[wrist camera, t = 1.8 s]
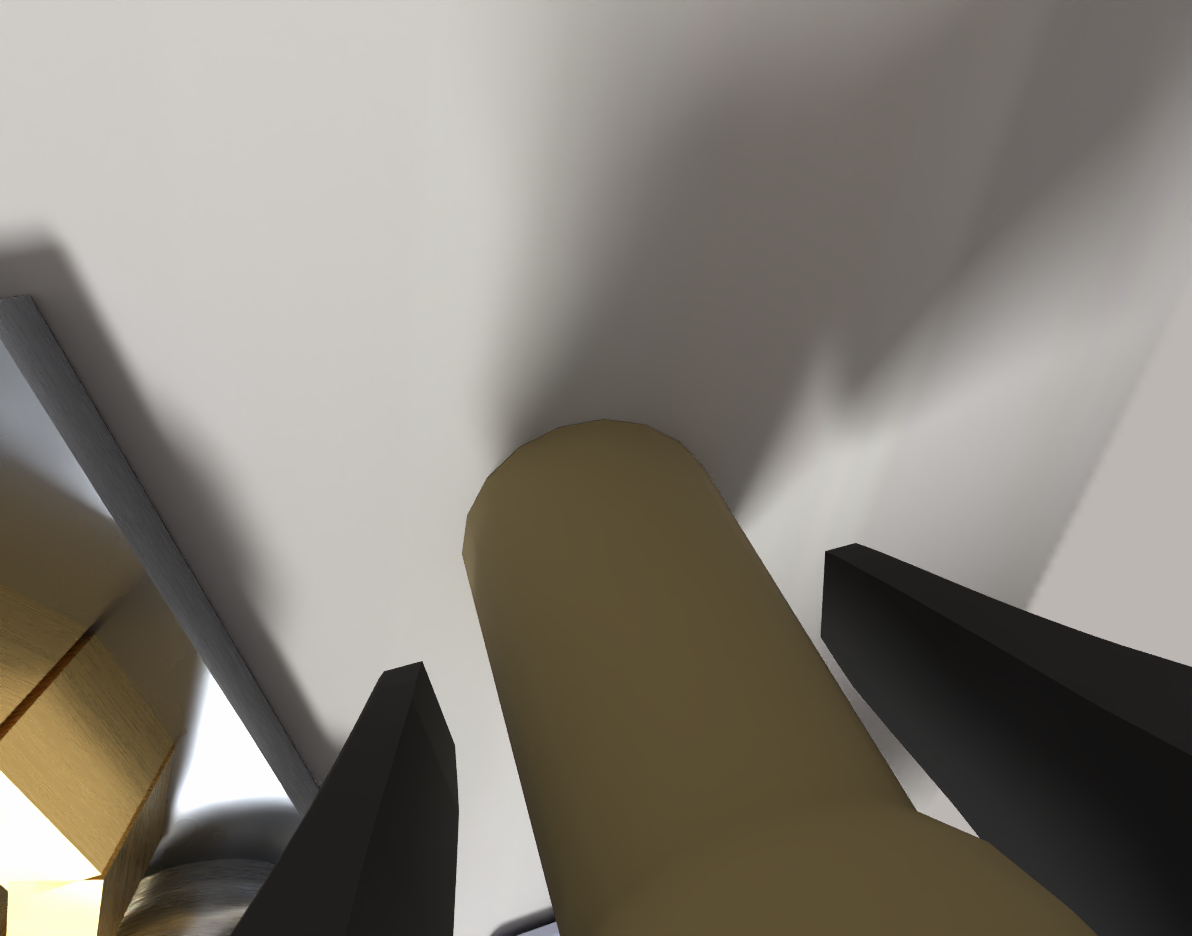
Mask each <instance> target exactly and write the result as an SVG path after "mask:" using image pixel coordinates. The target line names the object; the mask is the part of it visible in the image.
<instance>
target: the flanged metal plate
mask: <svg viewBox="0 0 1192 936" xmlns="http://www.w3.org/2000/svg"><path fill="white" fill-rule="evenodd" d="M318 791H319V789H318V787H317V786H316V784H315V782H314V780H313V779H312V777H311V775H310V774H309V772H308V770H307V769H306V767H305V765H304V763H303V762H302V760H301V758H300V757H299V755H298V753H297V751H296V750H295V748H294V746H293V745H292V743H291V741H290V739H289V738H288V736H287V734H286V733H285V731H284V729H283V727H282V726H281V724H280V722H279V721H278V719H277V717H276V716H275V714H274V712H273V710H272V709H271V707H270V705H269V704H268V702H267V700H266V698H265V697H264V695H263V693H262V692H261V690H260V688H259V686H258V685H257V683H256V681H255V680H254V678H253V676H252V675H251V673H250V671H249V669H248V668H247V666H246V664H245V663H244V661H243V659H242V657H241V656H240V654H239V652H238V651H237V649H236V647H235V645H234V644H233V642H232V640H231V639H230V637H229V635H228V633H227V632H226V630H225V628H224V627H223V625H222V623H221V622H220V620H219V618H218V616H217V615H216V613H215V611H214V610H213V608H212V606H211V604H210V603H209V601H208V599H207V598H206V596H205V594H204V592H203V591H202V589H201V587H200V586H199V584H198V582H197V581H196V579H195V577H194V575H193V574H192V572H191V570H190V569H189V567H188V565H187V563H186V562H185V560H184V558H183V557H182V555H181V553H180V551H179V550H178V548H177V546H176V545H175V543H174V541H173V539H172V538H171V536H170V534H169V533H168V531H167V529H166V528H165V526H164V524H163V522H162V521H161V519H160V517H159V516H158V514H157V512H156V510H155V509H154V507H153V505H152V504H151V502H150V500H149V498H148V497H147V495H146V493H145V492H144V490H143V488H142V487H141V485H140V483H139V481H138V480H137V478H136V476H135V475H134V473H133V471H132V469H131V468H130V466H129V464H128V463H127V461H126V459H125V457H124V456H123V454H122V452H121V451H120V449H119V447H118V445H117V444H116V442H115V440H114V439H113V437H112V435H111V434H110V432H109V430H108V428H107V427H106V425H105V423H104V422H103V420H102V418H101V416H100V415H99V413H98V411H97V410H96V408H95V406H94V404H93V403H92V401H91V399H90V398H89V396H88V394H87V393H86V391H85V389H84V387H83V386H82V384H81V382H80V381H79V379H78V377H77V375H76V374H75V372H74V370H73V369H72V367H71V365H70V363H69V362H68V360H67V358H66V357H65V355H64V353H63V351H62V350H61V348H60V346H59V345H58V343H57V341H56V340H55V338H54V336H53V334H52V333H51V331H50V329H49V328H48V326H47V324H46V322H45V321H44V319H43V317H42V316H41V314H40V312H39V310H38V309H37V307H36V305H35V304H34V302H33V300H32V299H31V297H30V295H29V294H28V295H21V296H15V297H9V298H3V299H0V936H229V935H230V934H231V932H232V931H233V929H234V928H235V926H236V925H237V923H238V922H239V920H240V918H241V917H242V915H243V914H244V912H245V911H246V909H247V908H248V906H249V905H250V903H251V902H252V900H253V899H254V897H255V896H256V894H257V892H258V891H259V889H260V888H261V886H262V885H263V883H264V881H265V880H266V878H267V876H268V875H269V873H270V872H271V870H272V868H273V867H274V865H275V863H276V862H277V860H278V859H279V857H280V855H281V854H282V852H283V850H284V849H285V847H286V846H287V844H288V842H289V841H290V839H291V837H292V836H293V834H294V833H295V831H296V829H297V828H298V826H299V824H300V823H301V821H302V819H303V818H304V816H305V814H306V813H307V811H308V809H309V807H310V806H311V804H312V802H313V800H314V799H315V797H316V795H317V793H318Z"/></svg>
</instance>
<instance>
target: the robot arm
mask: <svg viewBox="0 0 1192 936" xmlns="http://www.w3.org/2000/svg"><path fill="white" fill-rule="evenodd" d="M821 638H822V640H823V641H824V643H825V644H826V646H827V648H828V649H829V651H830V652H831V654H832V655H833V657H834V659H835V660H836V662H837V663H838V665H839V666H840V668H841V669H842V671H843V672H844V674H845V675H846V676H847V678H848V679H849V681H850V682H851V684H852V685H853V687H854V688H855V689H856V690H857V692H858V693H859V694H860V695H861V696H862V698H863V699H864V700H865V701H866V702H867V704H868V705H869V706H870V707H871V708H872V710H873V711H874V712H875V713H876V714H877V716H878V717H879V718H880V719H881V720H882V721H883V723H884V724H885V725H886V726H887V727H888V729H889V730H890V731H891V732H892V733H893V734H894V736H895V737H896V738H897V739H898V740H899V741H900V743H901V744H902V745H903V746H904V747H905V748H906V750H907V751H908V752H909V753H910V754H911V755H912V757H913V758H914V759H915V760H916V761H917V763H918V764H919V765H920V766H921V767H922V768H923V770H924V771H925V772H926V773H927V774H928V775H929V777H930V778H931V779H932V780H933V781H934V782H935V784H936V785H937V786H938V787H939V788H940V789H941V791H942V792H943V793H944V794H945V795H946V796H947V797H948V799H949V800H950V801H951V802H952V803H953V805H954V806H955V807H956V808H957V810H958V811H959V812H960V813H961V815H962V816H963V817H964V818H965V820H966V821H967V822H968V823H969V825H970V826H971V827H972V829H973V830H974V831H975V832H976V834H977V835H978V836H979V838H980V839H982V840H985V841H987V842H989V843H990V844H991V845H992V846H994V847H995V848H996V849H997V850H999V851H1000V852H1001V853H1002V854H1003V855H1005V856H1006V857H1007V858H1008V859H1010V860H1011V861H1012V862H1013V863H1015V864H1016V865H1017V866H1018V867H1019V868H1021V869H1022V870H1023V871H1024V872H1026V873H1027V874H1028V875H1029V876H1031V877H1032V878H1033V879H1034V880H1036V881H1037V882H1038V883H1039V884H1040V885H1042V886H1043V887H1044V888H1045V889H1047V890H1048V891H1049V892H1050V893H1052V894H1053V895H1054V896H1055V897H1056V898H1058V899H1059V900H1060V901H1061V902H1063V903H1064V904H1065V905H1066V906H1068V907H1069V908H1070V909H1071V910H1072V911H1073V912H1074V913H1075V914H1076V915H1078V916H1079V917H1080V918H1081V919H1082V920H1083V921H1084V922H1085V923H1086V924H1087V925H1088V926H1089V927H1090V928H1091V929H1092V930H1093V931H1094V932H1095V933H1096V934H1097V935H1098V936H1192V667H1190V666H1187V665H1184V664H1180V663H1177V662H1174V661H1171V660H1167V659H1164V658H1161V657H1157V656H1155V655H1151V654H1148V653H1145V652H1142V651H1138V650H1135V649H1132V648H1129V647H1125V646H1122V645H1119V644H1116V643H1113V642H1110V641H1107V640H1104V639H1101V638H1098V637H1095V636H1093V635H1090V634H1087V633H1084V632H1081V631H1078V630H1076V629H1073V628H1070V627H1067V626H1064V625H1061V624H1059V623H1056V622H1053V621H1051V620H1048V619H1045V618H1042V617H1040V616H1037V615H1034V614H1032V613H1029V612H1027V611H1024V610H1021V609H1019V608H1016V607H1014V606H1011V605H1008V604H1006V603H1003V602H1001V601H998V600H996V599H993V598H991V597H988V596H986V595H983V594H981V593H978V592H976V591H973V590H971V589H969V588H966V587H964V586H961V585H959V584H956V583H954V582H952V581H949V580H947V579H944V578H942V577H940V576H937V575H935V574H932V573H930V572H928V571H925V570H923V569H920V568H918V567H916V566H913V565H911V564H908V563H906V562H904V561H901V560H899V559H896V558H894V557H891V556H889V555H886V554H884V553H881V552H879V551H876V550H874V549H871V548H868V547H866V546H863V545H860V544H857V543H854V544H850V545H847V546H843V547H839V548H836V549H832V550H828V551H825V566H824V584H823V602H822V620H821ZM458 820H459V804H458V785H457V769H456V754H455V744H454V742H453V739H452V737H451V734H450V731H449V729H448V726H447V724H446V721H445V719H444V716H443V713H442V711H441V708H440V706H439V703H438V700H437V698H436V695H435V693H434V690H433V688H432V685H431V682H430V680H429V677H428V675H427V672H426V669H425V667H424V664H423V662H422V661H421V662H417V663H413V664H410V665H406V666H402V667H399V668H395V669H391V670H388V671H384V672H383V674H382V675H381V677H380V678H379V680H378V682H377V683H376V685H375V687H374V689H373V691H372V693H371V695H370V697H369V699H368V701H367V703H366V705H365V707H364V709H363V711H362V713H361V714H360V716H359V718H358V720H357V722H356V724H355V726H354V728H353V730H352V732H351V733H350V735H349V737H348V739H347V741H346V743H345V745H344V747H343V748H342V750H341V752H340V754H339V756H338V758H337V759H336V761H335V763H334V765H333V767H332V768H331V770H330V772H329V774H328V775H327V777H326V779H325V781H324V783H323V784H322V786H321V788H320V790H319V791H318V793H317V795H316V797H315V799H314V800H313V802H312V804H311V806H310V807H309V809H308V811H307V813H306V814H305V816H304V818H303V819H302V821H301V823H300V824H299V826H298V828H297V829H296V831H295V833H294V834H293V836H292V837H291V839H290V841H289V842H288V844H287V846H286V847H285V849H284V850H283V852H282V854H281V855H280V857H279V859H278V860H277V862H276V863H275V865H274V867H273V868H272V870H271V872H270V873H269V875H268V876H267V878H266V880H265V881H264V883H263V885H262V886H261V888H260V889H259V891H258V892H257V894H256V896H255V897H254V899H253V900H252V902H251V903H250V905H249V906H248V908H247V909H246V911H245V912H244V914H243V915H242V917H241V918H240V920H239V922H238V923H237V925H236V926H235V928H234V929H233V931H232V932H231V934H230V935H229V936H453V928H454V908H455V887H456V867H457V844H458ZM517 936H560V934H559V930H558V926H557V923H556V922H553V923H551V924H548V925H545V926H542V927H539V928H536V929H534V930H531V931H528V932H525V933H522V934H519V935H517Z"/></svg>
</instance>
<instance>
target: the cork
mask: <svg viewBox="0 0 1192 936" xmlns="http://www.w3.org/2000/svg"><path fill="white" fill-rule="evenodd" d="M462 556H463V560H464V564H465V568H466V572H467V576H468V580H469V584H470V588H471V591H472V595H473V599H474V603H475V607H476V611H477V615H478V619H479V623H480V627H481V630H482V634H483V638H484V642H485V646H486V650H487V654H488V658H489V662H490V665H491V669H492V673H493V677H494V681H495V685H496V689H497V693H498V697H499V701H500V704H501V708H502V712H503V716H504V720H505V724H506V728H507V732H508V736H509V740H510V743H511V747H512V751H513V755H514V759H515V763H516V767H517V771H518V775H519V778H520V782H521V786H522V790H523V794H524V798H525V802H526V806H527V810H528V814H529V817H530V821H531V825H532V829H533V833H534V837H535V841H536V845H537V849H538V852H539V856H540V860H541V864H542V868H543V872H544V876H545V880H546V884H547V888H548V891H549V895H550V899H551V903H552V907H553V911H554V915H555V919H556V923H557V926H558V930H559V934H560V936H1098V935H1097V934H1096V933H1095V932H1094V931H1093V930H1092V929H1091V928H1090V927H1089V926H1088V925H1087V924H1086V923H1085V922H1084V921H1083V920H1082V919H1081V918H1080V917H1079V916H1078V915H1076V914H1075V913H1074V912H1073V911H1072V910H1071V909H1070V908H1069V907H1068V906H1066V905H1065V904H1064V903H1063V902H1061V901H1060V900H1059V899H1058V898H1056V897H1055V896H1054V895H1053V894H1052V893H1050V892H1049V891H1048V890H1047V889H1045V888H1044V887H1043V886H1042V885H1040V884H1039V883H1038V882H1037V881H1036V880H1034V879H1033V878H1032V877H1031V876H1029V875H1028V874H1027V873H1026V872H1024V871H1023V870H1022V869H1021V868H1019V867H1018V866H1017V865H1016V864H1015V863H1013V862H1012V861H1011V860H1010V859H1008V858H1007V857H1006V856H1005V855H1003V854H1002V853H1001V852H1000V851H999V850H997V849H996V848H995V847H994V846H992V845H991V844H990V843H989V842H987V841H985V840H982V839H980V838H978V837H975V836H973V835H971V834H968V833H966V832H963V831H961V830H959V829H957V828H954V827H952V826H950V825H947V824H945V823H943V822H941V821H938V820H936V819H933V818H931V817H929V816H927V815H924V814H922V813H920V812H917V810H916V809H915V807H914V806H913V804H912V802H911V801H910V799H909V798H908V796H907V794H906V793H905V791H904V789H903V788H902V786H901V785H900V783H899V781H898V780H897V778H896V777H895V775H894V773H893V772H892V770H891V769H890V767H889V765H888V764H887V762H886V760H885V759H884V757H883V756H882V754H881V752H880V751H879V749H878V748H877V746H876V744H875V743H874V741H873V740H872V738H871V736H870V735H869V733H868V731H867V730H866V728H865V727H864V725H863V723H862V722H861V720H860V719H859V717H858V715H857V714H856V712H855V711H854V709H853V707H852V706H851V704H850V702H849V701H848V699H847V698H846V696H845V694H844V693H843V691H842V690H841V688H840V686H839V685H838V683H837V682H836V680H835V678H834V677H833V675H832V674H831V672H830V670H829V669H828V667H827V665H826V664H825V662H824V661H823V659H822V657H821V656H820V654H819V653H818V651H817V649H816V648H815V646H814V645H813V643H812V641H811V640H810V638H809V636H808V635H807V633H806V632H805V630H804V628H803V627H802V625H801V624H800V622H799V620H798V619H797V617H796V616H795V614H794V612H793V611H792V609H791V607H790V606H789V604H788V603H787V601H786V599H785V598H784V596H783V595H782V593H781V591H780V590H779V588H778V587H777V585H776V583H775V582H774V580H773V578H772V577H771V575H770V574H769V572H768V570H767V569H766V567H765V566H764V564H763V562H762V561H761V559H760V558H759V556H758V554H757V553H756V551H755V549H754V548H753V546H752V545H751V543H750V541H749V540H748V538H747V537H746V535H745V533H744V532H743V530H742V529H741V527H740V525H739V524H738V522H737V520H736V519H735V517H734V516H733V514H732V512H731V511H730V509H729V508H728V506H727V504H726V503H725V501H724V500H723V498H722V496H721V495H720V493H719V491H718V490H717V488H716V487H715V485H714V483H713V482H712V480H711V479H710V477H709V475H708V474H707V472H706V471H705V469H704V468H703V467H702V466H701V464H700V463H699V462H698V461H697V460H696V459H695V458H694V457H693V456H692V455H691V454H690V452H689V451H688V450H687V449H686V448H685V447H684V446H683V445H682V444H681V443H680V442H679V441H677V440H675V439H673V438H671V437H669V436H667V435H665V434H663V433H661V432H659V431H657V430H655V429H653V428H651V427H649V426H647V425H642V424H635V423H627V422H620V421H612V420H605V419H603V420H598V421H592V422H586V423H581V424H575V425H569V426H564V427H559V428H557V429H555V430H553V431H551V432H549V433H547V434H545V435H543V436H541V437H539V438H537V439H535V440H533V441H532V442H530V443H528V444H526V445H524V446H522V447H520V448H518V449H517V450H516V451H515V452H514V453H513V454H512V455H511V456H510V457H509V458H508V459H507V460H506V461H505V462H504V463H503V464H502V465H501V466H500V467H498V468H497V469H496V470H495V471H494V472H493V473H492V474H491V475H490V476H489V477H488V478H487V479H486V481H485V483H484V485H483V487H482V489H481V490H480V492H479V494H478V496H477V498H476V500H475V502H474V504H473V506H472V508H471V509H470V511H469V513H468V515H467V521H466V528H465V535H464V543H463V550H462Z"/></svg>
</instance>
